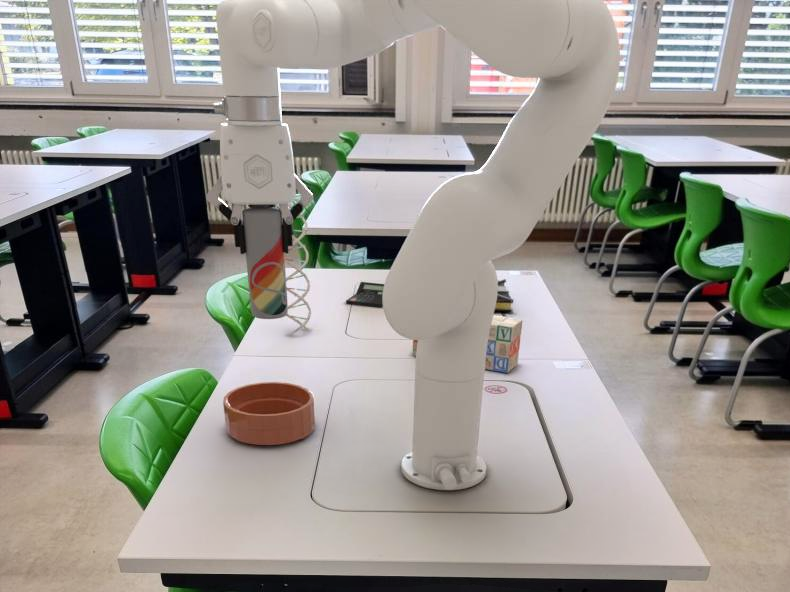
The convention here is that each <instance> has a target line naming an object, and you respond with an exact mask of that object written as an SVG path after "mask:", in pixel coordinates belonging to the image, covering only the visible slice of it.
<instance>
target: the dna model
mask: <svg viewBox="0 0 790 592" xmlns="http://www.w3.org/2000/svg"><path fill="white" fill-rule="evenodd" d="M299 199H300V198H295V199H294V200H293V201H296V202H298V200H299ZM288 206H289V208H290V209H291V208H292V207H293V205H291V204H290V203H288ZM300 218H301V221H302V222H303V224H304V229H303V230H301V229H294V232H299V233H300V235H299V236H298V237H297V238H296V236H295V235H292V242H293V246H294V245H296V244H298V245H299V246H297V247H295V250H296V249H303V250H304V252H305V260H301V259H296V262H298V263H302V265H301V266H299V268H298V266H297V265H295V264H293V263H292V262H294V259H289V258H285V264H287V265H289V266H290V267H292V268H293V269H295V271H294V272H292V273H291V274H289V275H288V276H286V282H288V281H290V280H294V279H298V278H302V277H303V278H304V279H305V281H306V283H307V286H306V289H303V288H297V291H301V292H304V293H302V294H301V296H300V294H298V293H297V292H295V291H293V290H295V287H294V288H293V287H287V292H289V293H291V294H292V295H294V297H297V299H296V300H295V301H294V302H292V303H291V304H288V310H290V309H295V308H298V307H301V306H306V308H307V311H308V313H307V317H300V316H295V315H290V314H289V312H288V313H287V315H286V316H285V317H288V318H289V319H291V320H292V321H294V322H295V323H297V324H298V325H299V327H297V328H296V329H295V330H292V331H291V332H290V333H289V334H288V336H293V335H294V334H295V333H297V332H298V331H300V330H302V329H303V328H304V330H306V331H308V327H307V326H306V325H307V324H308V322H309V320H310V319H311V317H312V309H311V306H310V305H309V303H308V301H307V300H305V297H306V296H307V294H308V293H309V291H310V289H311V281H310V279H309V278H308V276H307V274H306V273H305V272H304V271H303V269H304V268H305V267H306V265H307V264H308V263H309V257H310V254H309V251H308V250H307V247H306V246H307V244H303V243H302V242H301V240H302V239H303V238H304V237H305V235H306V233H307V232H308V222H307V220H306V218H305V214H302V212H301V213H300V214H299V215H298V216H297V218H296V219H300ZM282 223H283V217H282ZM293 246H288V251H293V250H294V248H293ZM284 254H286V253H285V252H284ZM297 274H300V275H297ZM296 275H297V276H296ZM301 301H302V302H303V303H300V302H301ZM299 303H300V304H299ZM297 304H298V305H297ZM299 319H301V320H304V322H301V321H300V320H299Z"/></svg>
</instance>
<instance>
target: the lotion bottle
mask: <svg viewBox="0 0 790 592" xmlns="http://www.w3.org/2000/svg"><path fill="white" fill-rule="evenodd" d="M241 216H242V217H241V218H242V223H243V229H244V239H245V250H246V253H245V261H246V270H247V271H246V274H247V283H248V293H249V294H248V295H249V305H250V313H251V316H252V317H253V318H257V319H261V320H275V319H276V320H277V319H281V318H284V317H287V316H286V315H287V313H288V314H289V309H288V306H289V304H288V291H287V288H288V287H287V281H286V278H287V275H286V273H287V271H286V262H285V259H286V258H285V257H286V256H285V253H284V250H283V235H282V218H283V215H282V212H281V210H280V208H277V207H275V204H258V205H247V208H244V209H242V212H241Z"/></svg>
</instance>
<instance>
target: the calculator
mask: <svg viewBox="0 0 790 592" xmlns="http://www.w3.org/2000/svg"><path fill="white" fill-rule="evenodd" d="M384 284H385V283H378V282H377V283H376V282H366V281H360V283H359V286H358V288H357V290H356V292H355V294H353V295H351V297H349V298H347V299H346V300H345V304H346V305H352V306H361V307H370V308H383V300H382V297H383V288H384Z"/></svg>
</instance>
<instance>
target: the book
mask: <svg viewBox="0 0 790 592" xmlns="http://www.w3.org/2000/svg"><path fill="white" fill-rule="evenodd" d="M505 283H507V279H506V278H503V279H500V280H498V293H497V301H496V306H495V310H494V312H505V313H509V314H513V313H514V309H513V308H512V304H514V298H512V297H511V296H510V290H509V288H508V286H505Z"/></svg>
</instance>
